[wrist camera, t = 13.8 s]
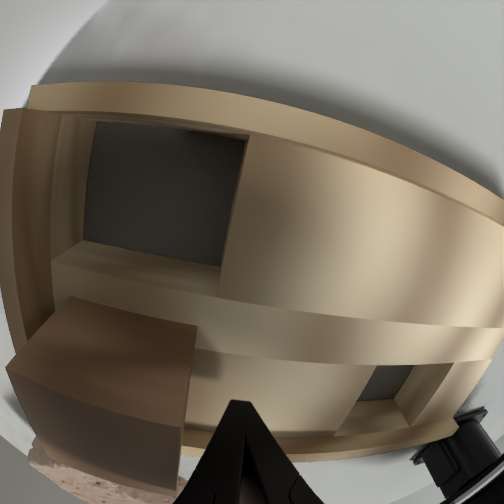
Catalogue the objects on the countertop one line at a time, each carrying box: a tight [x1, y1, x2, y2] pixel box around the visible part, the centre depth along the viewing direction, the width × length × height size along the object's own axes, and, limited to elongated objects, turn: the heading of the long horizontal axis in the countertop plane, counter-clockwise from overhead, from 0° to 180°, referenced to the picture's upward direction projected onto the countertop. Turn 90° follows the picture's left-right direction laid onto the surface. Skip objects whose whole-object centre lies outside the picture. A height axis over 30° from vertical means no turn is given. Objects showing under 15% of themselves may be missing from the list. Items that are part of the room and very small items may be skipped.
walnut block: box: [5, 296, 198, 497], centre depth 7 cm, size 4×4×4 cm
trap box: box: [0, 81, 504, 462], centre depth 10 cm, size 22×13×4 cm, turn 78°
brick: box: [28, 436, 188, 504], centre depth 14 cm, size 17×8×5 cm, turn 29°
